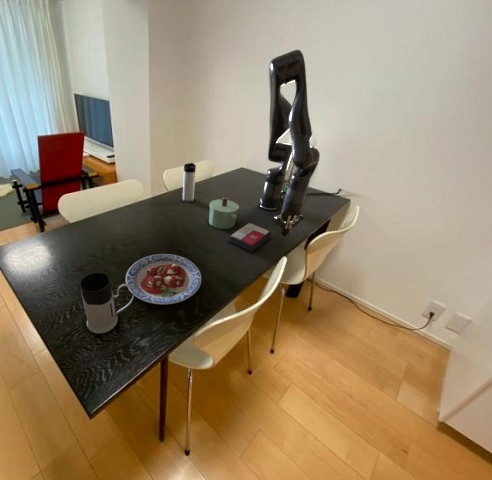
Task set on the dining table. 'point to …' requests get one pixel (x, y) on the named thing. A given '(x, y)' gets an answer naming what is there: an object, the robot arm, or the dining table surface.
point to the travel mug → (189, 182)
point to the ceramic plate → (163, 279)
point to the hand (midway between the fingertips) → (284, 235)
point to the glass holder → (100, 302)
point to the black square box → (250, 237)
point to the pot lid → (224, 205)
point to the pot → (222, 219)
